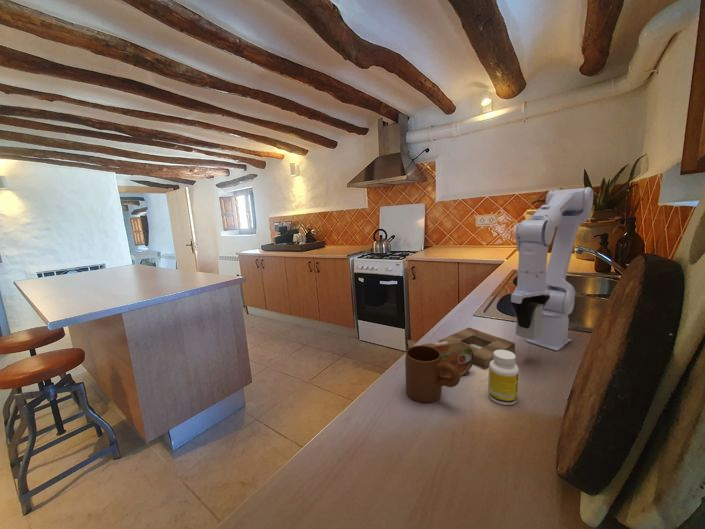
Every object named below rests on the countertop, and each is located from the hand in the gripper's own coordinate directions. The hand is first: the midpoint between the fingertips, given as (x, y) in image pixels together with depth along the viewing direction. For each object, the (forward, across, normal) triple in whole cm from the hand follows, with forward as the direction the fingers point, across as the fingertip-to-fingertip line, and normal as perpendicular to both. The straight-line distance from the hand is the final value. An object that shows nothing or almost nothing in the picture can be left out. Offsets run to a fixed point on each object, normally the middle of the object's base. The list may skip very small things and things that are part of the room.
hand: (528, 324), depth 71 cm
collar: (+10, -4, +11) cm, 16 cm away
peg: (+3, 0, 0) cm, 3 cm away
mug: (+10, -29, +6) cm, 31 cm away
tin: (+10, -21, +10) cm, 25 cm away
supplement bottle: (+10, -18, -3) cm, 21 cm away
